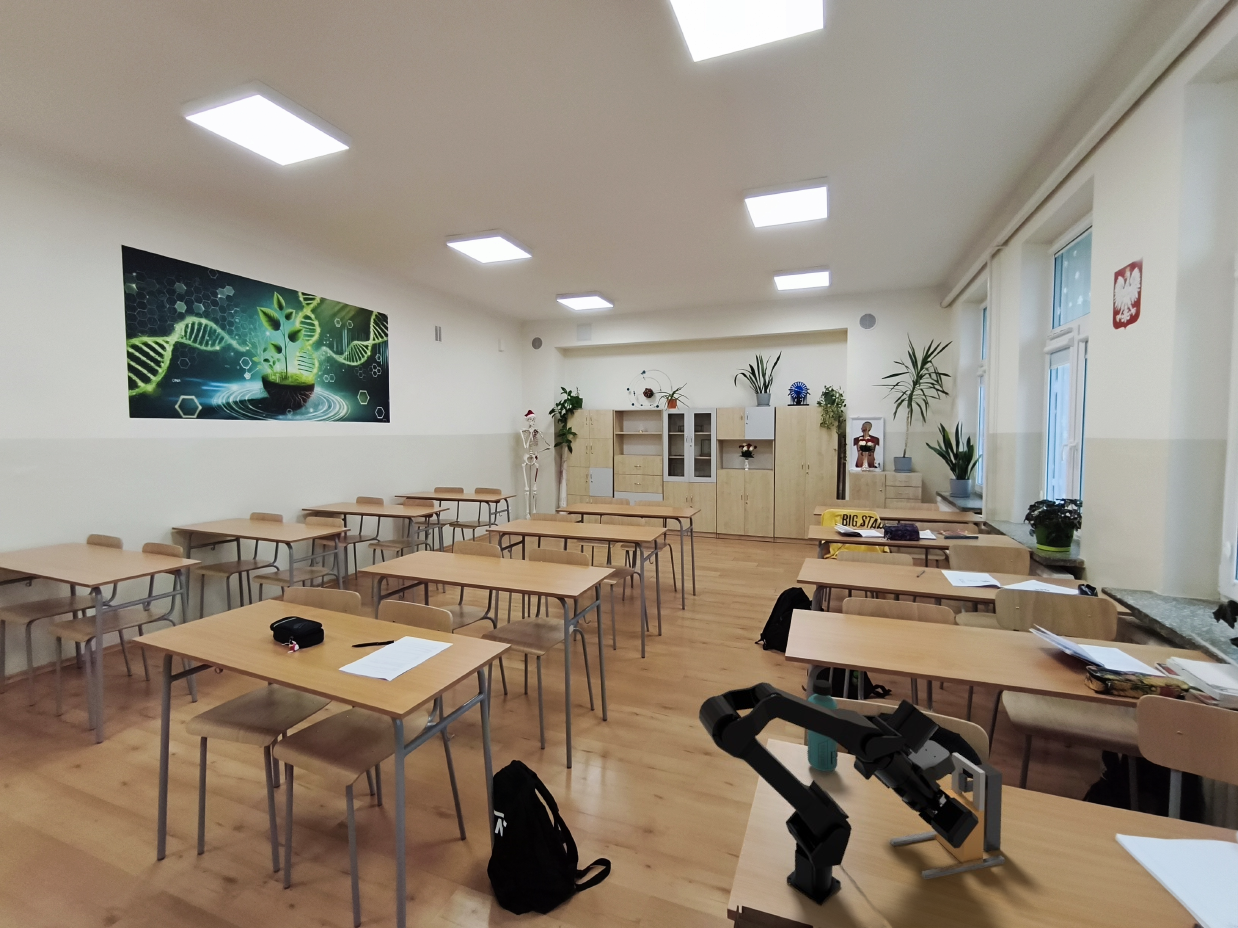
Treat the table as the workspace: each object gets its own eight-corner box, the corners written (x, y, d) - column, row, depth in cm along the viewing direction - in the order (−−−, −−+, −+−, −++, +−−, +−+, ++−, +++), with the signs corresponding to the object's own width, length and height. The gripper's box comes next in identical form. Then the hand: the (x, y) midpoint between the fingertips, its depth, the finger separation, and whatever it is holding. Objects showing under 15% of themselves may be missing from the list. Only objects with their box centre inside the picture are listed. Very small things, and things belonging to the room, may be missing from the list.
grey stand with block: (928, 889, 90) (930, 801, 89) (886, 845, 100) (888, 765, 99) (1018, 870, 94) (1020, 785, 93) (969, 829, 103) (971, 752, 103)
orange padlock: (963, 864, 94) (965, 775, 93) (936, 839, 99) (938, 755, 99) (983, 860, 94) (985, 771, 94) (954, 835, 100) (956, 752, 100)
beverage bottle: (833, 782, 118) (833, 692, 117) (802, 771, 122) (803, 683, 121) (841, 767, 123) (842, 681, 122) (811, 757, 127) (812, 673, 126)
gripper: (969, 764, 85) (1025, 820, 88) (887, 706, 103) (935, 755, 106) (925, 820, 84) (984, 876, 87) (850, 752, 102) (900, 800, 105)
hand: (948, 820), depth 96 cm, fingers closed, pressing on orange padlock
